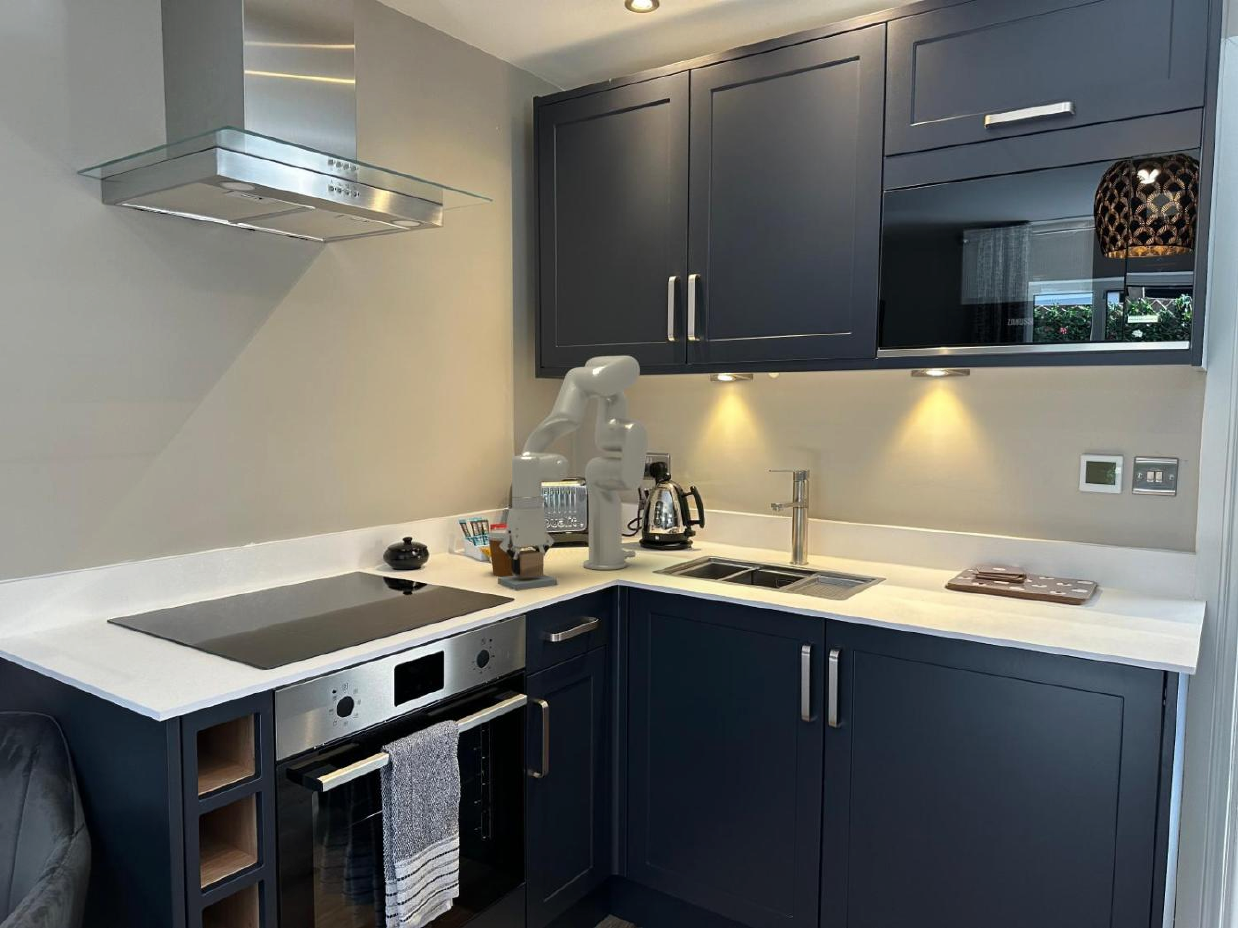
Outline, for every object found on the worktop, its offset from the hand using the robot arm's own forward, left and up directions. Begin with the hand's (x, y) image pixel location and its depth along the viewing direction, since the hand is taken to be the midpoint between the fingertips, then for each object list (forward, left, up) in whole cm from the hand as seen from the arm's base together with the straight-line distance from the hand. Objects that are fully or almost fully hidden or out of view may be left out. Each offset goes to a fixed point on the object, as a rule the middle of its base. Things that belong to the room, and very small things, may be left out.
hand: (527, 571), depth 216 cm
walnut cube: (0, 0, -1) cm, 1 cm away
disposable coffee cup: (-1, -15, -3) cm, 15 cm away
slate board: (0, 0, -3) cm, 3 cm away
